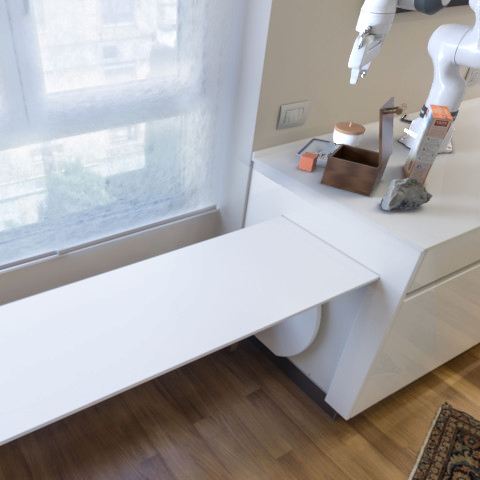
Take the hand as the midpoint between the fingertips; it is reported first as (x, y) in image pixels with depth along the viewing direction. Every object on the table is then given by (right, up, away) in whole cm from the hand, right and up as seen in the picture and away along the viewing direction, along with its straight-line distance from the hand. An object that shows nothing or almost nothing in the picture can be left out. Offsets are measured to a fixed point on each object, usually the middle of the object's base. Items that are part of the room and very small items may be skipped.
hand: (357, 80), depth 129 cm
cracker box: (+29, -21, +21) cm, 41 cm away
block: (-7, -18, +24) cm, 31 cm away
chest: (+5, -25, +16) cm, 30 cm away
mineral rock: (+15, -37, +4) cm, 40 cm away
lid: (+9, -14, +3) cm, 17 cm away
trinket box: (+12, -5, +38) cm, 40 cm away
